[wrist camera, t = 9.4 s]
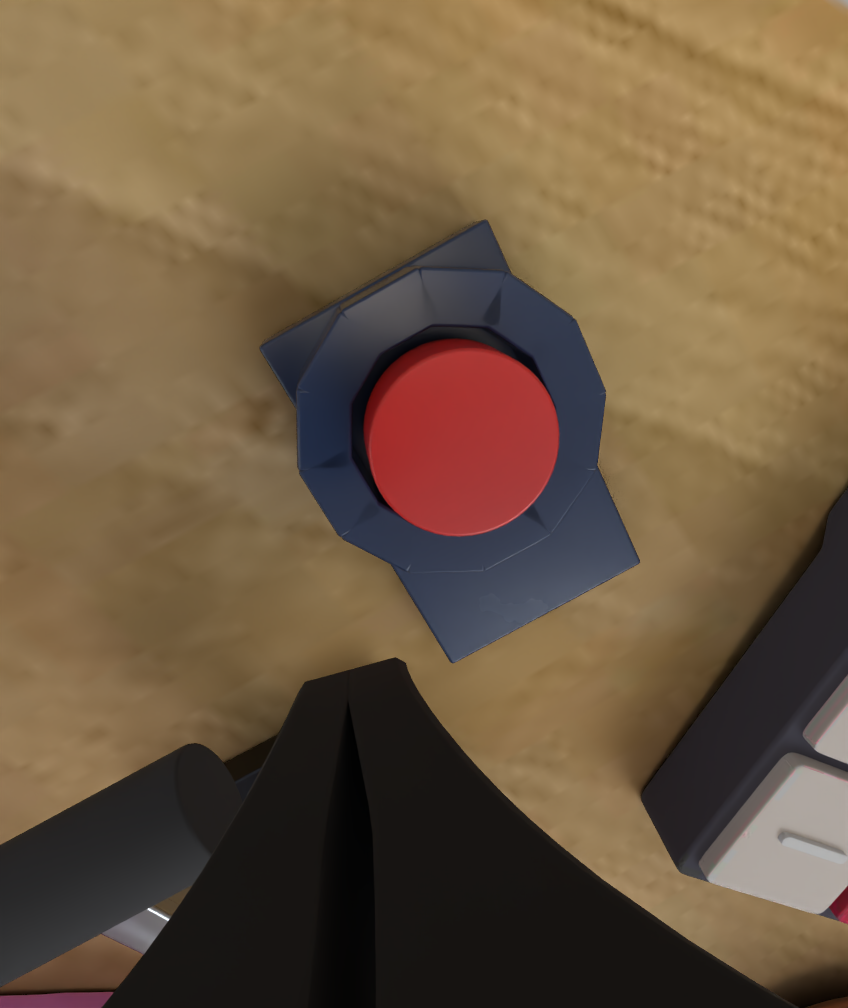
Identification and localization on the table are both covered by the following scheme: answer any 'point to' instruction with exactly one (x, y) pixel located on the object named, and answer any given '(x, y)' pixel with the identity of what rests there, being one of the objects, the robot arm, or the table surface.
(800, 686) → the calculator
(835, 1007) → the cup and saucer
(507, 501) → the button
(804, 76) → the table surface
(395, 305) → the control block
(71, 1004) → the gum box
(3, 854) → the lever
